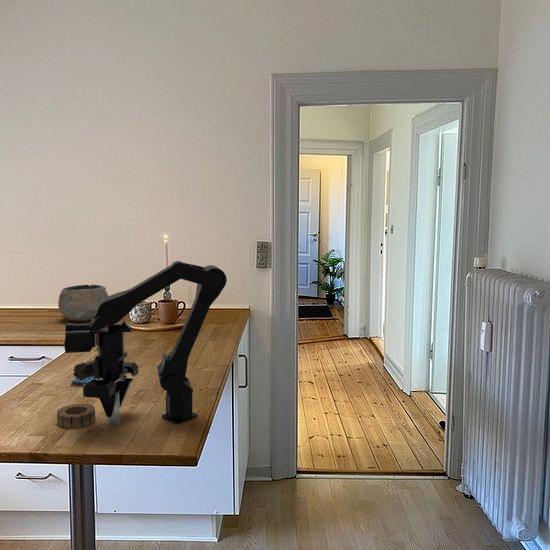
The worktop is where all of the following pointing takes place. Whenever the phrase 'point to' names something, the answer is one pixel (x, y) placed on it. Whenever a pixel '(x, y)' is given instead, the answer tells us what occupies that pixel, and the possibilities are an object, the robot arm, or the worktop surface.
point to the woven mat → (83, 381)
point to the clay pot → (81, 301)
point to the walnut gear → (76, 415)
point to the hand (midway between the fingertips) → (113, 413)
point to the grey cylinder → (115, 415)
